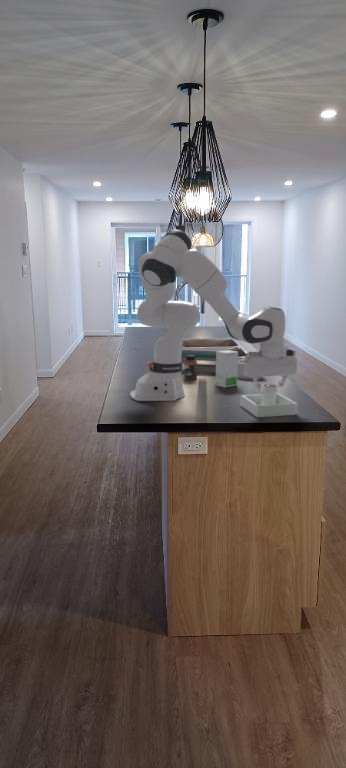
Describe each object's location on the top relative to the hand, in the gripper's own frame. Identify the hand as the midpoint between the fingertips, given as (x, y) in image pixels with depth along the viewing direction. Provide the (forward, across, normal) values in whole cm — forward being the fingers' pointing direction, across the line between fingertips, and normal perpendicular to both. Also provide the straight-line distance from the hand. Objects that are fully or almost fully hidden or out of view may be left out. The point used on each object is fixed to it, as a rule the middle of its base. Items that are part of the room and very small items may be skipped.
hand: (269, 387), depth 199 cm
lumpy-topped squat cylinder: (+9, +16, +56) cm, 58 cm away
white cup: (+8, 0, -1) cm, 8 cm away
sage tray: (+9, 0, 0) cm, 9 cm away
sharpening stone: (+9, -1, +74) cm, 74 cm away
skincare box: (+9, -2, +40) cm, 42 cm away
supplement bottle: (+9, -14, +57) cm, 59 cm away
